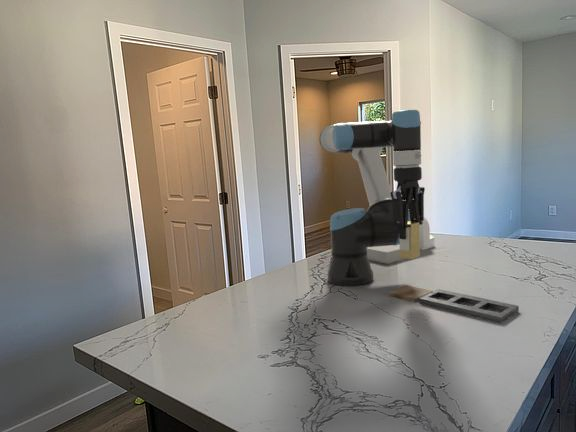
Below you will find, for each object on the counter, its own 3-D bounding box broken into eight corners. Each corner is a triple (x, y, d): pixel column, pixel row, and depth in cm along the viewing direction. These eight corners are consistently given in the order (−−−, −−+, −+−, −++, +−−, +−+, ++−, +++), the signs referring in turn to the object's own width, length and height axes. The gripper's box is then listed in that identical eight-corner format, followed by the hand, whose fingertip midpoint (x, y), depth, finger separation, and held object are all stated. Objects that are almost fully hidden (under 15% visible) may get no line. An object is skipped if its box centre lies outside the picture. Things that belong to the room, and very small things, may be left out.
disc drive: (376, 248, 192) (376, 237, 191) (418, 256, 173) (417, 243, 173) (346, 255, 182) (345, 243, 182) (386, 264, 164) (386, 251, 163)
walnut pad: (388, 295, 129) (388, 292, 129) (406, 287, 135) (406, 285, 134) (415, 301, 122) (415, 299, 122) (433, 293, 128) (433, 290, 128)
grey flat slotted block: (419, 303, 121) (419, 298, 120) (438, 294, 127) (438, 289, 127) (501, 323, 104) (501, 317, 104) (518, 311, 110) (518, 305, 110)
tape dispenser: (423, 250, 181) (422, 216, 179) (388, 244, 195) (387, 213, 193) (439, 244, 189) (438, 212, 187) (404, 240, 202) (403, 209, 200)
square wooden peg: (400, 257, 127) (398, 223, 125) (408, 254, 129) (407, 221, 128) (412, 259, 124) (411, 224, 122) (420, 256, 126) (419, 222, 125)
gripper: (400, 168, 115) (403, 255, 118) (435, 164, 126) (437, 244, 129) (377, 169, 120) (380, 252, 123) (413, 164, 131) (415, 241, 134)
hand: (409, 248), depth 126 cm, fingers closed on square wooden peg, 4 cm apart
